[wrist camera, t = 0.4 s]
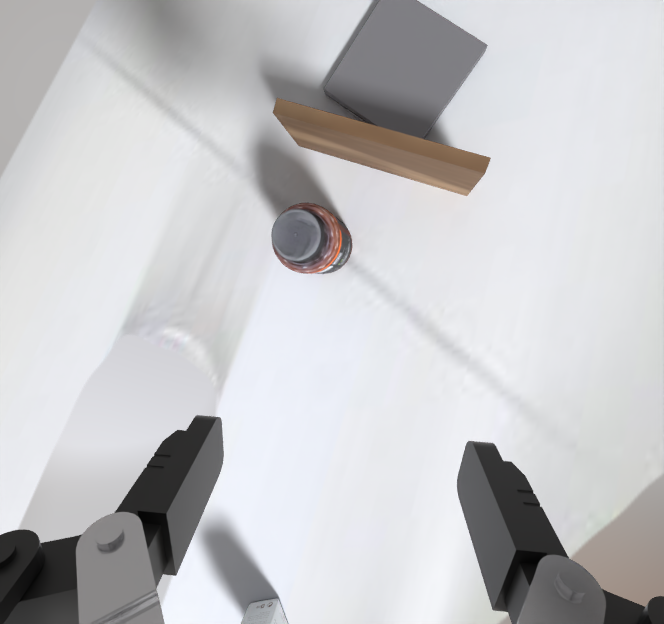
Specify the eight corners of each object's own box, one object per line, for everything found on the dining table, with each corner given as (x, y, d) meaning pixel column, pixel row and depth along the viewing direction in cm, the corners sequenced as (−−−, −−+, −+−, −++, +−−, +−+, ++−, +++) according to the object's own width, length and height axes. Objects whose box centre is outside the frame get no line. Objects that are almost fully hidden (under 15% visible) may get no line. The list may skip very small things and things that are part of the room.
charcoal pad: (390, -9, 36) (390, -17, 35) (485, 51, 35) (487, 45, 34) (325, 93, 38) (323, 88, 37) (413, 153, 37) (413, 150, 36)
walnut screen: (302, 134, 39) (277, 97, 31) (471, 183, 36) (490, 157, 28) (298, 145, 39) (272, 112, 31) (466, 196, 36) (484, 173, 29)
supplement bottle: (300, 216, 40) (260, 192, 29) (355, 218, 39) (336, 194, 28) (296, 272, 40) (256, 269, 29) (351, 276, 39) (330, 275, 28)
